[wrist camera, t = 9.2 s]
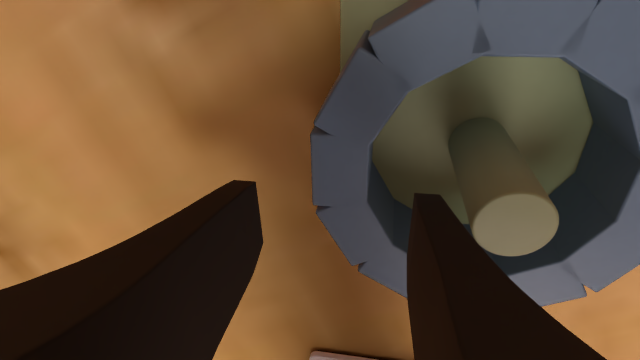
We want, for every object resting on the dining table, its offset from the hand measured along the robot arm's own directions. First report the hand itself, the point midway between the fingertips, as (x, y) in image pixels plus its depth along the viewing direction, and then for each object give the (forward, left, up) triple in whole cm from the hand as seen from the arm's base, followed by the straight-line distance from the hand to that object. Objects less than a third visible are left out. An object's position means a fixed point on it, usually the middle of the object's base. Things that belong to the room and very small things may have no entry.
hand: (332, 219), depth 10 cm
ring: (0, -4, -5) cm, 7 cm away
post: (0, -4, -7) cm, 8 cm away
